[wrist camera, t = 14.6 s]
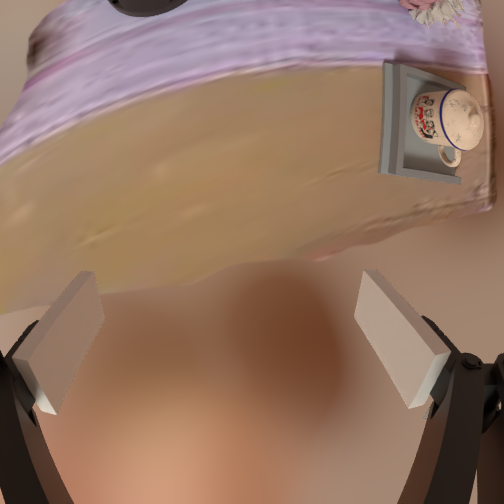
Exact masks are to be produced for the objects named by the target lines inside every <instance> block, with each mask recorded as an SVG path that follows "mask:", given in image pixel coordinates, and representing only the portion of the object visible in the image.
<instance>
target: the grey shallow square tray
mask: <svg viewBox="0 0 504 504" xmlns="http://www.w3.org/2000/svg"><path fill="white" fill-rule="evenodd" d="M456 88H457V89H462V90H464V91H466V87H465V86H462V85H460V84H457V83H455V82H452V81H450V80H447V79H445V78H442V77H439V76H437V75H434V74H431V73H428V72H425V71H422V70H419V69H416V68H413V67H410V66H407V65H403V64H397V65H393V64H390V63H386V62H385V63H383V108H382V131H381V147H380V160H379V171H378V173H380V174H388V175H396V176H404V177H412V178H419V179H426V180H433V181H439V182H446V183H452V184H459V185H460V184H461V178H460V177H457V176H455V170H456V167H449V166H447V165H446V164H445V163H444V162H443V161H442V160H441V158H440V155H439V151H438V145H437V144H431V143H427V142H425V141H423V140H422V139H421V138H420V137H419V136H418V135H417V134H416V132H415V131H414V129H413V126H412V123H411V118H410V110H411V105H412V103H413V101H414V99H415V98H416V97H417V96H418V95H420V94H422V93H428V92H438V91H449V90H451V89H456ZM445 153H446V156H447V158H448V159H449V160H450V161H451V162H453V160H454V147H450V146H445Z"/></svg>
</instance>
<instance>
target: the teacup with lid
mask: <svg viewBox="0 0 504 504" xmlns="http://www.w3.org/2000/svg"><path fill="white" fill-rule="evenodd" d="M410 118H411V123H412V126H413V129H414V131H415V132H416V134H417V135H418V136H419V137H420V138H421V139H422V140H423V141H425V142H427V143H431V144H437V145H438V151H439V155H440V158H441V160H442V161H443V162H444V163H445V164H446V165H447V166H449V167H456V166H458V164H459V163H460V160H461V150H464V151H465V150H470V149H472V148H474V147H475V146H476V145H477V144H478V143H479V141H480V139H481V137H482V134H483V128H484V121H483V115H482V111H481V109H480V106H479V104H478V103H477V101H476V100H475V98H474V97H473V96H472V95H471V94H470V93H468V92H467V91H464V90H462V89H457V88H456V89H451V90H449V91H438V92H428V93H422V94H420V95H418V96H417V97H416V98H415V99H414V101H413V103H412V105H411V110H410ZM445 146H450V147H454V160H453V162H451V161H450V160H449V159H448V158H447V156H446V153H445Z"/></svg>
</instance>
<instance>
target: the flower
mask: <svg viewBox="0 0 504 504" xmlns="http://www.w3.org/2000/svg"><path fill="white" fill-rule="evenodd" d="M398 1H399V2H400V5H402V6H403V7H404V8H406V9H412V10H411V11H409V13H410V15H411V17H412V18H413V20H414V19H415V18H416V17H417V19H416V20H417V21H418V22H419V23H420V24H421V25H422V24H423V22H424V23H425V22H426V25H427V27H428V28H430V27H429V25H428V20H429V22H431V23H432V24H434V23H433V21H434V19H435V20H436V21H438V22H440V23H442V24H443V22H444V24H445V25H446V24H447V23H448V20H449V19H451V20H453V22H454V23H455V24H456V26H457V27H458V28H460V26H459V24H458V23H457V22H456V21H455V20H454V18H453V17H452V15H454V14H456V16H458V17H461V14H459V13H458V12H457V8H458V9H460V10H462V11H464V10H463V5H462V1H461V0H398ZM464 12H465V11H464ZM451 14H452V15H451ZM458 14H459V15H458ZM433 17H434V19H433ZM444 18H445V20H446V22H445V21H444ZM460 29H461V28H460Z"/></svg>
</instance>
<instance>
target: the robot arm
mask: <svg viewBox="0 0 504 504" xmlns="http://www.w3.org/2000/svg"><path fill="white" fill-rule="evenodd" d="M108 1H109V3H110V4H111V5H112V6H113V7H114V8H115V9H116V10H118V11H119V12H121V13H123V14H126V15H129V16H134V17H148V16H155V15H159V14H162V13H165V12H168V11H170V10H173V9H175V8H177V7H178V6H180V5H182V4H183V3H185V2H186V1H187V0H108ZM354 317H355V319H356V321H357V322H358V324H359V326H360V327H361V329H362V330H363V332H364V334H365V335H366V337H367V339H368V340H369V342H370V344H371V345H372V347H373V349H374V350H375V352H376V353H377V355H378V357H379V358H380V360H381V362H382V364H383V365H384V367H385V369H386V370H387V372H388V374H389V376H390V377H391V379H392V380H393V382H394V384H395V386H396V388H397V389H398V391H399V393H400V395H401V396H402V398H403V400H404V402H405V403H406V405H407V407H408V409H410V408H414V407H417V406H420V405H424V403H425V402H426V400H427V398H428V396H429V395H431V396H432V398H433V399H434V401H433V402H432V404H431V406H430V407H429V409H428V411H427V412H426V415H425V416H424V419H426V417H427V416H428V418H427V421H426V425H425V428H424V432H423V435H422V439H421V442H420V445H419V448H418V451H417V454H416V457H415V460H414V463H413V466H412V468H411V471H410V474H409V476H408V479H407V481H406V484H405V486H404V489H403V491H402V494H401V496H400V498H399V500H398V503H397V504H469V501H470V497H471V493H472V488H473V484H474V479H475V474H476V469H477V490H478V504H504V353H503V354H500V355H498V357H497V359H496V361H495V363H494V364H483V362H482V361H481V359H479V358H478V357H477V356H475V355H473V354H471V353H460V351H459V350H458V349H457V348H456V347H455V346H454V344H453V343H452V342H451V341H450V340H449V339H448V338H447V336H445V335H444V333H443V332H442V331H441V330H439V328H438V326H437V325H436V324H435V323H434V322H433V321H431V320H430V319H428V318H427V317H425V316H420V315H419V314H418V313H417V312H416V311H415V309H414V308H413V307H412V306H411V305H410V304H409V303H408V302H407V301H406V300H405V299H404V297H403V296H402V295H401V294H400V293H399V292H398V291H397V290H396V289H395V288H394V287H393V286H392V285H391V284H390V283H389V282H388V281H387V280H386V279H385V277H384V276H383V275H382V274H381V273H380V272H379V271H378V270H364V271H363V276H362V281H361V286H360V291H359V296H358V301H357V305H356V310H355V314H354ZM104 320H105V318H104V314H103V310H102V306H101V301H100V297H99V292H98V288H97V283H96V278H95V273H94V272H87V271H81V272H80V273H79V274H78V275H77V276H76V278H75V279H74V280H73V281H72V282H71V283H70V284H69V286H68V287H67V288H66V289H65V290H64V291H63V292H62V294H61V295H60V296H59V297H58V298H57V300H56V301H55V302H54V303H53V304H52V306H51V307H50V308H49V309H48V311H47V312H46V313H45V314H44V315H43V317H42V318H41V319H40V320H36V321H35V322H34V323H32V324H31V325H29V326H28V327H27V328H26V330H25V331H24V332H23V334H22V335H21V336H20V337H19V339H18V341H16V343H15V344H14V345H13V346H12V348H11V349H10V351H9V352H8V353H7V355H6V356H5V357H3V355H2V353H1V351H0V488H1V491H2V495H3V498H4V500H5V504H74V503H73V501H72V499H71V497H70V495H69V493H68V491H67V489H66V487H65V485H64V483H63V481H62V479H61V477H60V475H59V473H58V470H57V468H56V466H55V464H54V461H53V459H52V457H51V454H50V452H49V449H48V447H47V444H46V442H45V439H44V436H43V434H42V431H41V428H40V425H39V422H38V419H37V416H36V413H35V412H34V410H33V408H32V407H33V405H34V403H35V401H36V403H37V404H38V406H39V407H40V409H41V411H44V412H47V413H51V414H55V415H57V414H58V412H59V409H60V407H61V405H62V403H63V401H64V398H65V396H66V394H67V392H68V390H69V388H70V385H71V383H72V381H73V379H74V377H75V375H76V373H77V371H78V369H79V367H80V365H81V363H82V361H83V359H84V357H85V355H86V353H87V351H88V349H89V347H90V345H91V344H92V342H93V340H94V338H95V336H96V334H97V333H98V331H99V329H100V327H101V325H102V323H103V322H104ZM500 402H501V410H500V409H499V406H498V405H499V403H500Z"/></svg>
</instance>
